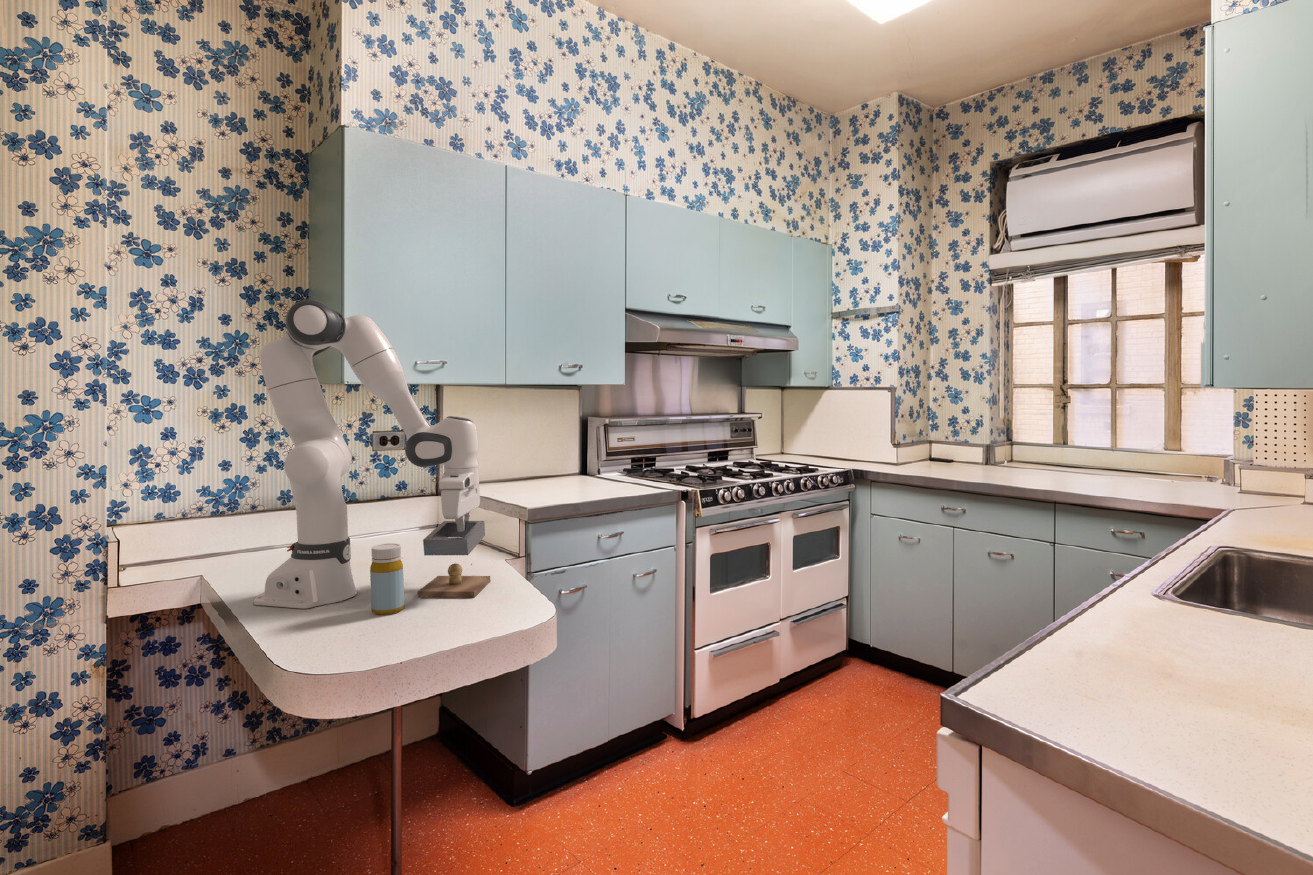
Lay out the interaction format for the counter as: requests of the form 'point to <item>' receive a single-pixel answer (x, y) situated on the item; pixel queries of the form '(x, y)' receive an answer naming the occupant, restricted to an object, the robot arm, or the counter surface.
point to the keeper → (454, 585)
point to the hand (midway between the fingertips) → (463, 529)
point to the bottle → (386, 579)
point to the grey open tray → (443, 545)
